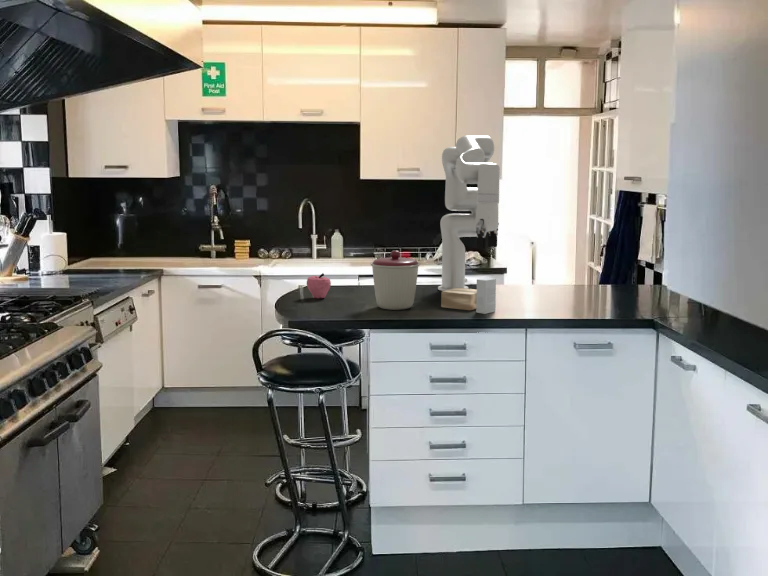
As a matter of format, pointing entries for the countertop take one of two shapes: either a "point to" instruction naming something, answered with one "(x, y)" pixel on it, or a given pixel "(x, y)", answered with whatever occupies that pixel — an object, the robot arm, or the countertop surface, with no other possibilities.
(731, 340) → the countertop surface
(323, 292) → the apple
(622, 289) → the countertop surface
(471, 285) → the countertop surface
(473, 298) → the oak block
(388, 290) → the canister
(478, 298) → the skincare box
